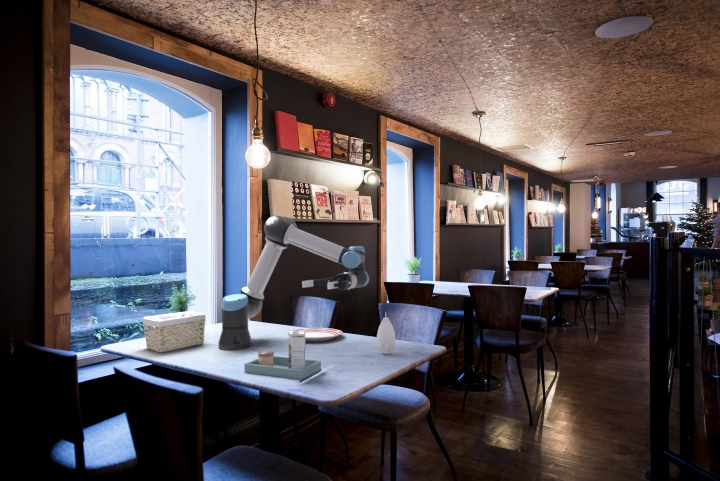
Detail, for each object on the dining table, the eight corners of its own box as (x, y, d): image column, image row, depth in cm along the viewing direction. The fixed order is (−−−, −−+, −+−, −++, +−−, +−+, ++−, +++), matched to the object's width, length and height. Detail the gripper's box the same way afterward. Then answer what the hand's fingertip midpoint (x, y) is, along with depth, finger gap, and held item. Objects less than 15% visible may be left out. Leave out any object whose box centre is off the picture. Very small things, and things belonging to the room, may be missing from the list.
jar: (254, 369, 175) (254, 353, 175) (264, 365, 180) (264, 350, 180) (268, 371, 173) (267, 354, 173) (277, 367, 178) (276, 351, 178)
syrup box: (289, 370, 174) (289, 330, 174) (305, 369, 174) (305, 330, 174) (288, 374, 168) (288, 333, 168) (305, 374, 168) (304, 333, 168)
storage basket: (157, 354, 205) (157, 320, 205) (141, 348, 216) (141, 316, 216) (207, 344, 223) (207, 313, 223) (190, 340, 234) (189, 310, 234)
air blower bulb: (375, 352, 204) (374, 310, 204) (392, 351, 205) (391, 309, 205) (379, 356, 196) (379, 313, 196) (397, 355, 198) (397, 312, 198)
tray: (244, 374, 172) (244, 363, 172) (267, 365, 185) (266, 355, 185) (301, 382, 162) (301, 370, 162) (320, 371, 175) (320, 360, 175)
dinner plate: (311, 330, 254) (311, 324, 254) (352, 336, 239) (352, 329, 239) (275, 340, 232) (275, 333, 232) (318, 346, 216) (318, 339, 216)
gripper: (368, 290, 208) (339, 295, 190) (323, 288, 222) (293, 292, 204) (367, 273, 208) (339, 277, 190) (323, 272, 222) (292, 275, 204)
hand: (315, 285), depth 197 cm, fingers open, 13 cm apart
